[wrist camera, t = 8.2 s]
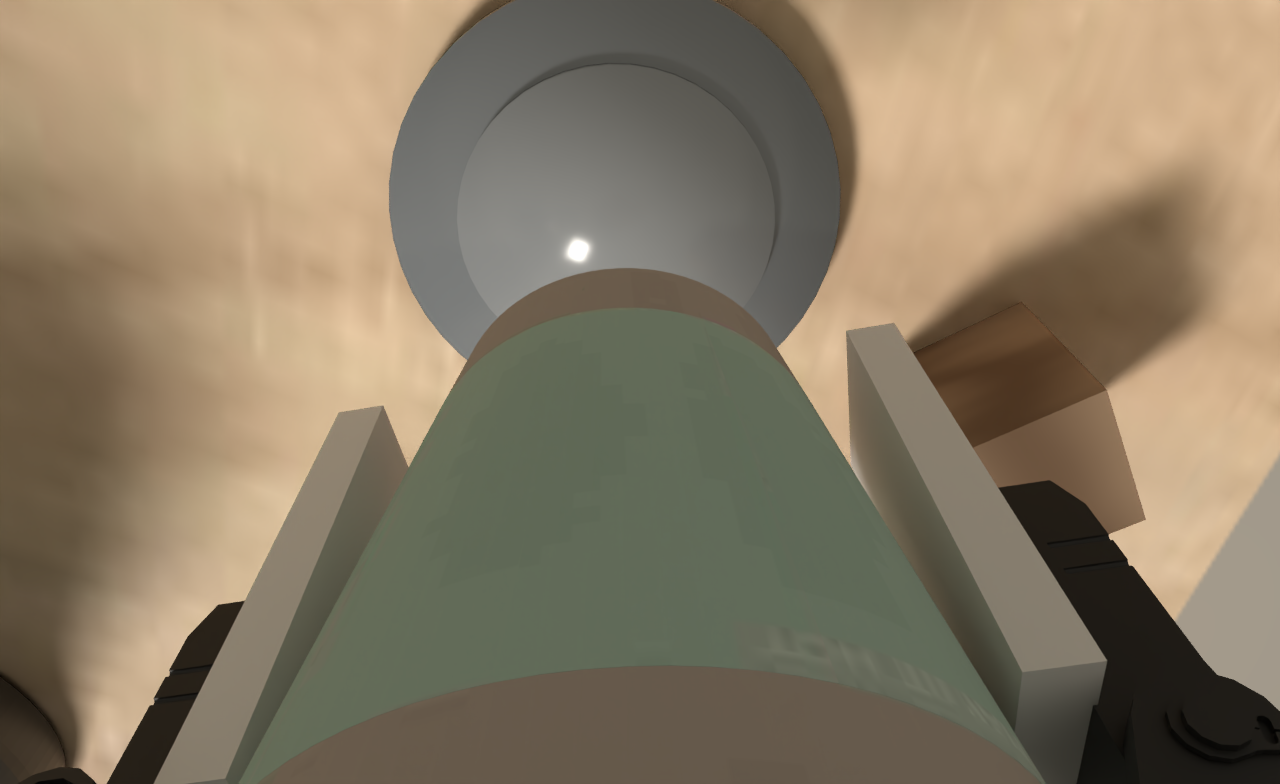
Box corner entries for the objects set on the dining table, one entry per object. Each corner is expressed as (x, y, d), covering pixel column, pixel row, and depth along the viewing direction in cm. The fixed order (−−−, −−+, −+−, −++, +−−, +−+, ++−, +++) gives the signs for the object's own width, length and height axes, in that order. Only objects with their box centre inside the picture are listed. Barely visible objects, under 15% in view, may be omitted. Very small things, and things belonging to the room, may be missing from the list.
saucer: (466, 426, 26) (461, 446, 25) (327, 26, 20) (313, 34, 19) (840, 366, 25) (849, 384, 24) (823, -70, 19) (834, -67, 18)
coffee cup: (506, 633, 17) (361, 1716, 7) (277, 289, 13) (-964, 1850, 3) (907, 521, 16) (1431, 1659, 6) (806, 93, 11) (2267, 1743, 1)
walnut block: (917, 479, 28) (972, 586, 24) (865, 373, 26) (916, 472, 22) (1061, 418, 27) (1146, 519, 23) (1020, 301, 25) (1106, 389, 20)
